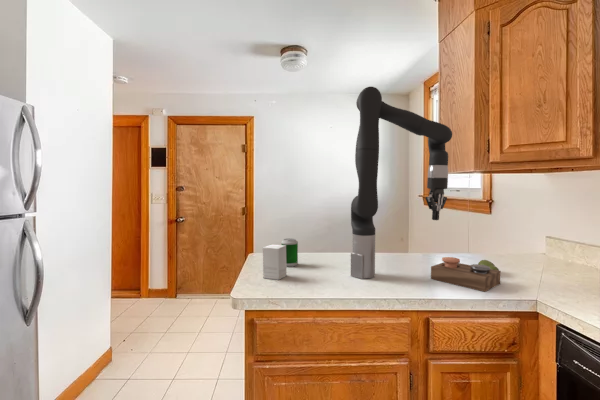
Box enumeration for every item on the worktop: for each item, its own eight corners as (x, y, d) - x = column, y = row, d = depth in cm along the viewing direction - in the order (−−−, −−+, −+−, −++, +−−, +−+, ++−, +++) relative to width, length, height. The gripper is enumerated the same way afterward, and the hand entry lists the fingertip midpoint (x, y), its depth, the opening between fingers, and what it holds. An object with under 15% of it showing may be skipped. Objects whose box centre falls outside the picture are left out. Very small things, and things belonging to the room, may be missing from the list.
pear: (487, 257, 141) (504, 267, 131) (486, 269, 142) (502, 279, 132) (476, 258, 140) (492, 267, 130) (474, 269, 141) (490, 280, 132)
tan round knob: (454, 275, 125) (455, 261, 125) (438, 272, 130) (439, 258, 130) (462, 272, 129) (462, 259, 129) (446, 269, 134) (446, 256, 134)
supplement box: (287, 275, 134) (287, 245, 133) (278, 280, 127) (278, 248, 127) (271, 273, 137) (271, 243, 137) (262, 278, 131) (262, 247, 130)
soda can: (297, 267, 147) (297, 241, 147) (281, 267, 147) (280, 241, 147) (297, 263, 155) (297, 238, 154) (282, 263, 155) (282, 238, 154)
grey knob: (485, 284, 117) (485, 269, 117) (467, 280, 122) (467, 266, 121) (492, 281, 121) (492, 266, 121) (474, 277, 126) (474, 263, 126)
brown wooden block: (484, 291, 113) (485, 277, 113) (430, 278, 129) (431, 266, 129) (500, 283, 122) (500, 270, 122) (447, 272, 138) (448, 261, 138)
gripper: (437, 177, 137) (435, 218, 138) (420, 176, 129) (417, 219, 130) (455, 177, 131) (452, 220, 132) (438, 176, 123) (435, 221, 124)
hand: (435, 220), depth 131 cm, fingers closed
